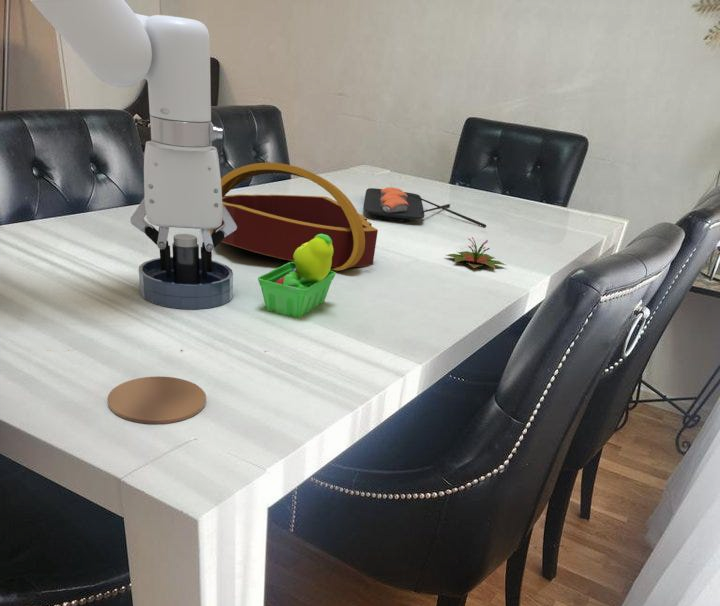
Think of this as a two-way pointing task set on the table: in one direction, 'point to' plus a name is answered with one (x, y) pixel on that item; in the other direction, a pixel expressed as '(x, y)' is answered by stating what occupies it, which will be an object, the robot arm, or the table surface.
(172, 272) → the bowl
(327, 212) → the decorative basket
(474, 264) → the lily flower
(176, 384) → the cork coaster
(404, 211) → the sushi plate
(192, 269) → the salt shaker
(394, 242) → the table surface
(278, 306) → the fruit basket
